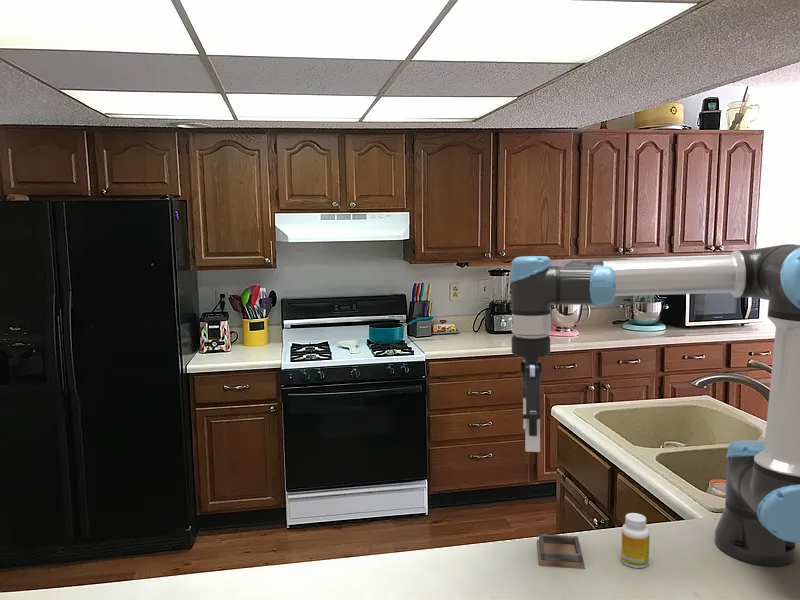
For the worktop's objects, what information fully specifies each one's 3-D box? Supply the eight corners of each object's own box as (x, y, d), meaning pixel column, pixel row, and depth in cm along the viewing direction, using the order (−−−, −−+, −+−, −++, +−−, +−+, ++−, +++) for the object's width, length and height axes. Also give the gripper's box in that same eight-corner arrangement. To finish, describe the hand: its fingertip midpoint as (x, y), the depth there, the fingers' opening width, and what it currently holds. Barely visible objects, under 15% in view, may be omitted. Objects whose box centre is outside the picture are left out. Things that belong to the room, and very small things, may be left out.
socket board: (579, 546, 137) (579, 535, 137) (584, 568, 128) (584, 556, 128) (537, 543, 139) (537, 533, 138) (539, 565, 130) (539, 554, 130)
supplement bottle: (651, 570, 127) (652, 524, 126) (622, 567, 128) (623, 522, 127) (646, 556, 133) (647, 512, 131) (619, 554, 134) (620, 510, 133)
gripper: (510, 325, 138) (511, 420, 140) (512, 346, 113) (513, 461, 115) (546, 325, 136) (546, 420, 139) (555, 346, 112) (555, 462, 114)
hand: (531, 439), depth 127 cm, fingers open, 13 cm apart
